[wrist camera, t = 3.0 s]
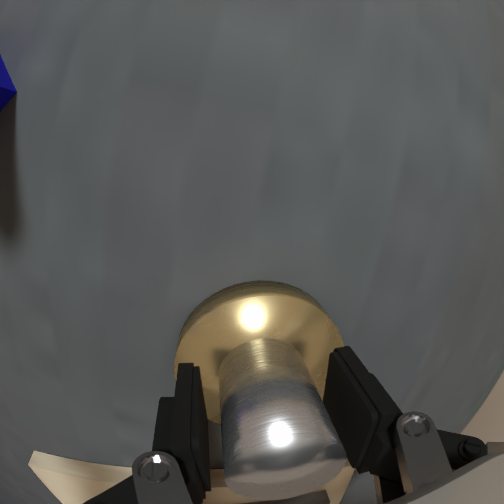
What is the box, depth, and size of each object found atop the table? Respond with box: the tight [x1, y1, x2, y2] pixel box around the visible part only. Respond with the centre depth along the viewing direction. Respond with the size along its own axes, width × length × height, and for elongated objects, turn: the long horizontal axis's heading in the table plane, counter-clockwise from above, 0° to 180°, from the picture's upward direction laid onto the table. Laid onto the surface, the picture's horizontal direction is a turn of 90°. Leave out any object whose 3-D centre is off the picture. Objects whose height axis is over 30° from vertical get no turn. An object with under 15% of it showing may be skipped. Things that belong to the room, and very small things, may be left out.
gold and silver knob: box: [174, 281, 347, 500], centre depth 10 cm, size 7×7×6 cm
